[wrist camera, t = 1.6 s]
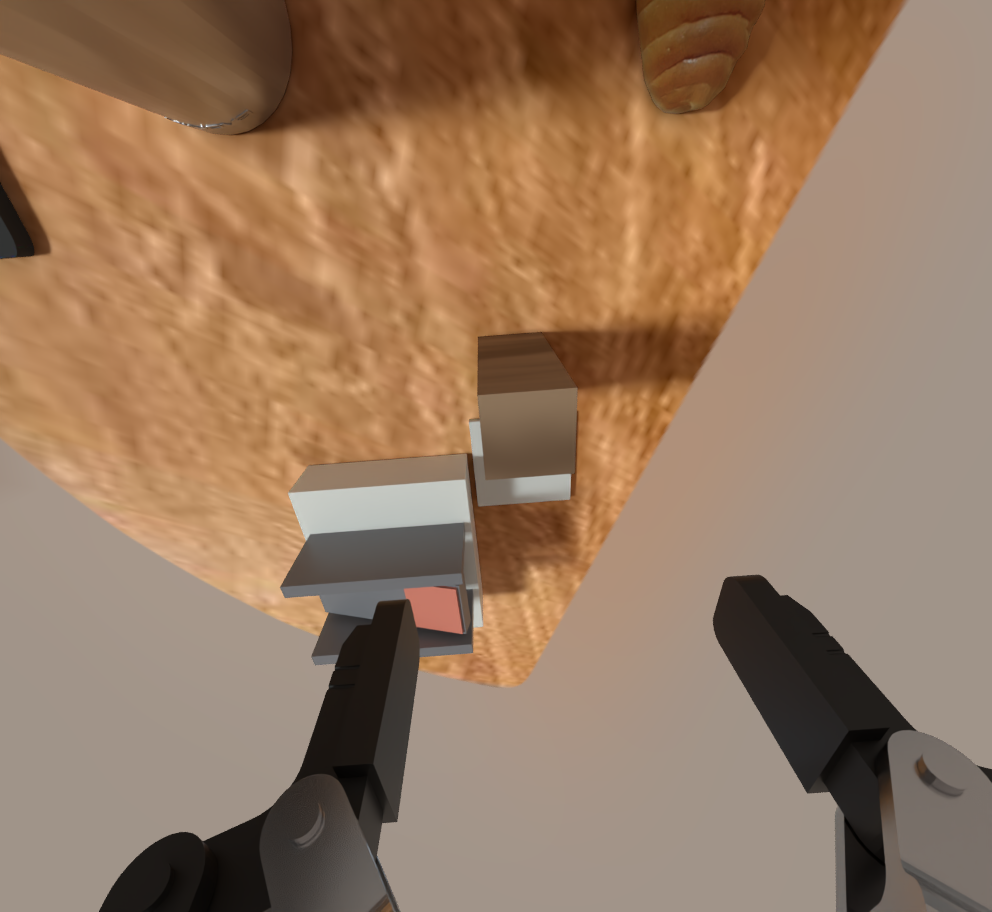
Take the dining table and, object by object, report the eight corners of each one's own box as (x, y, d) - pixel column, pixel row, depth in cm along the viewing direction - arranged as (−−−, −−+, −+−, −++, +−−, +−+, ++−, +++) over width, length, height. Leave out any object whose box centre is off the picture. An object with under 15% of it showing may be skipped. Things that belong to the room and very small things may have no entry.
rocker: (317, 555, 32) (306, 568, 30) (463, 573, 29) (458, 588, 28) (334, 600, 34) (324, 613, 33) (470, 620, 31) (465, 636, 30)
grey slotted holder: (308, 465, 33) (251, 542, 25) (466, 453, 33) (462, 525, 25) (354, 602, 41) (322, 696, 32) (482, 593, 41) (483, 683, 32)
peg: (477, 336, 29) (477, 395, 18) (541, 332, 29) (577, 387, 18) (483, 396, 31) (485, 480, 20) (542, 392, 31) (574, 473, 20)
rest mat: (469, 419, 32) (469, 422, 31) (571, 411, 32) (572, 414, 31) (478, 503, 35) (478, 506, 35) (569, 496, 35) (570, 499, 35)
